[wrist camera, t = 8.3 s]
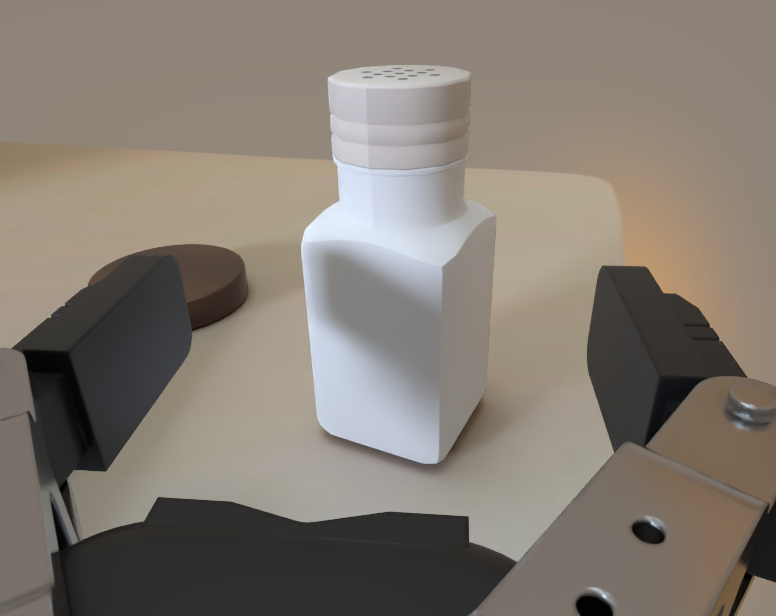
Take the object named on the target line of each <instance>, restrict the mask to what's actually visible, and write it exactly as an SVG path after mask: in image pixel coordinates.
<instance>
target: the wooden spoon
mask: <svg viewBox="0 0 776 616" xmlns="http://www.w3.org/2000/svg"><path fill="white" fill-rule="evenodd" d="M134 254H136V255H171V256H173V257H174V258H175V259H176V260H177V262H178V265H179V268H180V272H181V277H182V282H183V287H184V292H185V297H186V302H187V307H188V312H189V317H190V322H191V328H192V329H194V328H198V327H201V326H204V325H207V324H209V323H212V322H214V321H216V320H218V319H221V318H223V317H224V316H226V315H228V314H229V313H231V312H232V311H234V310H235V309H236V308H237V307H238V306H240V305H241V303H242V302H243V301H244V300H245V298H246V296H247V292H248V285H247V278H246V271H245V264H244V262H243V260H242V258H241V257H240V256H239V255H238V254H236V253H235V252H233V251H231V250H228V249H226V248H222V247H217V246H212V245H199V244H185V245H172V246H164V247H158V248H153V249H149V250H144V251H141V252H137V253H134ZM134 254H131V255H134ZM131 255H128V256H125V257H123V258H120V259H118V260H116V261H113V262H111V263H109V264H108V265H106V266H104V267H103V268H101V269H100V270H99V271H97V272H96V273H95V274H94V275H93V276H92V278H91V279H90V281H89V283H88V286H90V285H92V284H94V283H96V282H98V281H100V280H103V279H104V278H105V277H106V276H107V275H108V274H110V273H111V272H112V271H113V270H114V269H115V268H117V267H118V266H119V265H120V264H121V263H122V262H124V261H125V260H126V259H127V258H128V257H129V256H131Z"/></svg>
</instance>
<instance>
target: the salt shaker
mask: <svg viewBox="0 0 776 616" xmlns="http://www.w3.org/2000/svg"><path fill="white" fill-rule="evenodd" d="M328 95H329V109H330V112H331V113H332V114H331V116H330V124H331V131H332V132H333V134H332V136H331V140H332V153H333V160H334V163H335V164H336V165H337V167H338V183H339V199H340V201H338V202H336V203H335V204H333V205H332V206H330V207H329V208H327V209H326V210H324V211H323V212H322V213H321V214H320V215H319V216H318V217H317V218H316V219H315V220H314V221H313V222H312V223H311V224H310V225H309V226H308V227H307V228H306V229H305V232H304V236H303V240H302V244H301V255H302V265H303V275H304V285H305V296H306V306H307V316H308V327H309V337H310V347H311V358H312V368H313V378H314V389H315V399H316V409H317V419H318V421H319V422H320V424H321V426H322V428H324V429H325V430H326V431H327V432H329V433H330V434H331V435H334V436H338V437H341V438H344V439H347V440H350V441H353V442H356V443H360V444H363V445H366V446H369V447H372V448H375V449H378V450H382V451H385V452H388V453H391V454H394V455H397V456H400V457H404V458H407V459H410V460H413V461H416V462H419V463H422V464H437V463H439V462H440V461H442V460H443V459H445V457H446V456H447V454H448V452H449V451H450V449H451V448H452V446H453V444H454V443H455V441H456V439H457V438H458V436H459V434H460V433H461V431H462V429H463V428H464V426H465V424H466V423H467V421H468V419H469V418H470V416H471V414H472V413H473V411H474V409H475V408H476V406H477V404H478V403H479V401H480V399H481V397H482V396H483V394H484V392H485V391H486V381H487V365H488V349H489V333H490V316H491V300H492V284H493V268H494V252H495V236H496V217H495V215H494V214H493V213H492V212H490V211H489V210H487V209H486V208H485V207H483V206H482V205H480V204H479V203H477V202H474V201H471V200H469V199H466V198H464V173H465V163H466V161H467V160H468V159H469V150H468V149H469V129H468V127H469V125H470V111H469V107H470V100H471V73H470V72H468V71H465V70H461V69H458V68H454V67H444V66H432V65H389V66H375V67H362V68H356V69H350V70H344V71H340V72H338V73H336V74H334V75H332V76H330V77H329V78H328Z"/></svg>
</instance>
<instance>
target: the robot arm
mask: <svg viewBox="0 0 776 616" xmlns="http://www.w3.org/2000/svg"><path fill="white" fill-rule="evenodd" d="M191 340H192V328H191V322H190V317H189V312H188V307H187V302H186V297H185V292H184V287H183V282H182V277H181V272H180V268H179V265H178V262H177V260H176V259H175V258H174V257H173V256H171V255H136V254H134V255H131V256H129V257H128V258H127V259H126V260H125V261H124V262H122V263H121V264H120V265H119V266H118V267H117V268H115V269H114V270H113V271H112V272H111V273H110V274H108V275H107V276H106V277H105V278H104V279H103V280H100V281H98V282H96V283H94V284H92V285H90V286H88V287H86V288H84V289H82V290H80V291H79V292H78V293H77V294H76V295H74V296H73V297H72V298H71V299H70V300H68V301H67V302H66V303H65V306H61V307H60V308H59V309H58V310H57V311H55V312H54V313H53V314H52V315H51V318H47V319H46V320H45V321H44V322H42V323H41V324H40V325H39V326H38V327H36V328H35V329H34V330H33V331H32V332H30V333H29V334H28V335H27V336H26V337H25V338H23V339H22V340H21V341H20V342H19V343H17V344H16V345H15V346H14V347H13V348H11V349H8V348H0V616H736V615H737V613H738V611H739V609H740V607H741V605H742V603H743V601H744V599H745V597H746V595H747V592H748V590H749V588H750V586H751V584H752V582H753V580H754V577H755V576H757V577H761V578H764V579H767V580H770V581H773V582H776V387H775V386H772V385H770V384H767V383H764V382H761V381H758V380H754V379H749V378H747V376H746V375H745V373H744V372H743V370H742V369H741V368H740V366H739V365H738V364H737V362H736V361H735V359H734V358H733V356H732V355H731V354H730V352H729V351H728V349H727V348H726V346H725V345H724V344H723V342H721V341H719V337H718V335H717V334H716V332H715V331H714V330H713V328H710V324H709V323H708V321H707V320H706V319H705V317H704V316H703V314H702V313H701V311H700V310H699V309H698V308H697V307H696V306H694V305H692V304H691V303H690V302H688V301H686V300H685V299H683V298H682V297H680V296H679V295H677V294H664V293H663V292H662V290H661V289H660V287H659V285H658V284H657V282H656V281H655V279H654V278H653V276H652V274H651V273H650V271H649V270H648V269H647V268H646V267H640V266H639V267H638V266H602V267H601V269H600V271H599V274H598V279H597V285H596V291H595V298H594V304H593V311H592V317H591V324H590V330H589V336H588V344H587V365H588V372H589V376H590V379H591V382H592V385H593V388H594V391H595V394H596V397H597V400H598V404H599V407H600V410H601V413H602V416H603V419H604V422H605V425H606V428H607V432H608V435H609V438H610V441H611V444H612V447H613V450H614V454H613V455H612V456H611V457H610V459H609V460H608V461H607V462H606V463H605V464H604V465H603V466H602V468H601V469H600V470H599V471H598V472H597V473H596V474H595V475H594V477H593V478H592V479H591V480H590V481H589V482H588V483H587V485H586V486H585V487H584V488H583V489H582V490H581V491H580V492H579V494H578V495H577V496H576V497H575V498H574V499H573V500H572V501H571V503H570V504H569V505H568V506H567V507H566V508H565V509H564V511H563V512H562V513H561V514H560V515H559V516H558V517H557V518H556V520H555V521H554V522H553V523H552V524H551V525H550V526H549V527H548V529H547V530H546V531H545V532H544V533H543V534H542V535H541V537H540V538H539V539H538V540H537V541H536V542H535V543H534V544H533V546H532V547H531V548H530V549H529V550H528V551H527V552H526V553H525V555H524V556H523V557H522V558H521V559H520V560H519V561H518V562H516V561H514V560H512V559H511V558H509V557H507V556H505V555H503V554H501V553H498V552H496V551H494V550H491V549H489V548H486V547H484V546H481V545H477V544H474V543H471V542H469V518H468V517H467V516H451V515H435V514H419V513H403V512H383V513H376V514H369V515H362V516H354V517H347V518H340V519H333V520H326V521H319V522H309V523H306V522H299V521H295V520H291V519H288V518H285V517H281V516H278V515H274V514H271V513H268V512H264V511H261V510H257V509H254V508H251V507H247V506H244V505H240V504H237V503H234V502H226V501H210V500H194V499H178V498H162V497H158V498H157V500H156V502H155V503H154V505H153V507H152V509H151V510H150V512H149V514H148V516H147V517H146V519H145V521H144V522H138V523H133V524H129V525H125V526H120V527H117V528H114V529H110V530H107V531H104V532H101V533H98V534H96V535H93V536H91V537H89V538H86V539H84V540H83V535H82V531H81V526H80V522H79V517H78V513H77V508H76V504H75V499H74V495H73V491H72V488H71V486H70V483H69V480H68V477H69V475H70V474H71V473H72V472H73V470H88V471H105V472H106V471H107V469H108V468H109V466H110V465H111V464H112V462H113V461H114V459H115V458H116V457H117V455H118V454H119V452H120V451H121V449H122V448H123V447H124V445H125V444H126V442H127V441H128V440H129V438H130V437H131V435H132V434H133V432H134V431H135V430H136V428H137V427H138V425H139V424H140V423H141V421H142V420H143V418H144V417H145V415H146V414H147V413H148V411H149V410H150V408H151V407H152V406H153V404H154V403H155V401H156V400H157V399H158V397H159V396H160V394H161V393H162V391H163V390H164V389H165V387H166V386H167V384H168V383H169V382H170V380H171V379H172V377H173V376H174V374H175V373H176V372H177V370H178V369H179V367H180V366H181V365H182V363H183V362H184V360H185V359H186V357H187V356H188V353H189V350H190V347H191Z"/></svg>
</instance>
